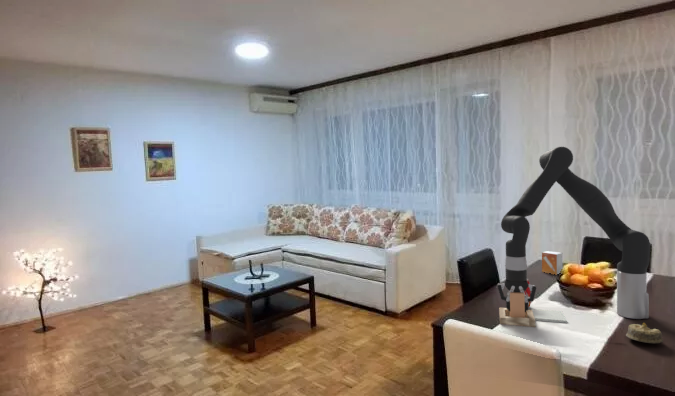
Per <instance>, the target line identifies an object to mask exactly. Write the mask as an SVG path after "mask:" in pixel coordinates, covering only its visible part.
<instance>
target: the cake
mask: <svg viewBox="0 0 675 396" xmlns="http://www.w3.org/2000/svg"><path fill="white" fill-rule="evenodd" d="M627 328H628V329H627V330H628V331H627V332H626V334H625V336H626V337H627V338H629V339H630V340H634V341H637V342H642V343H647V344H660V343H663V342H664V340H663V335H662V332H661V331H660V329H656V328H653V329H650V327H648V325H647V324H646V322H643V323H642V324H638V323H637V324H635V323H633V324H632V323H631V324H629V325H628V327H627Z"/></svg>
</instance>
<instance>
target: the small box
mask: <svg viewBox="0 0 675 396" xmlns="http://www.w3.org/2000/svg"><path fill="white" fill-rule="evenodd" d="M561 269H563V252H559V251H551V250H545V251H543V252H541V273H544V272H545V274H549V273H551V274H550V275H554V274H555V275H554V276H558V275H557V274H559V273H560V271H561ZM559 275H560V274H559Z"/></svg>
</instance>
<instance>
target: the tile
mask: <svg viewBox="0 0 675 396" xmlns="http://www.w3.org/2000/svg"><path fill="white" fill-rule="evenodd" d="M531 310H532V312H533V315H534V318H535V321H539V322H542V321H543V322H553V323H563V324H565V323H566V324H567V323H568V320H567V318H566V315H565V314H564V312H563V311H562V310H551V309H536V308H532V309H531Z"/></svg>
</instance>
